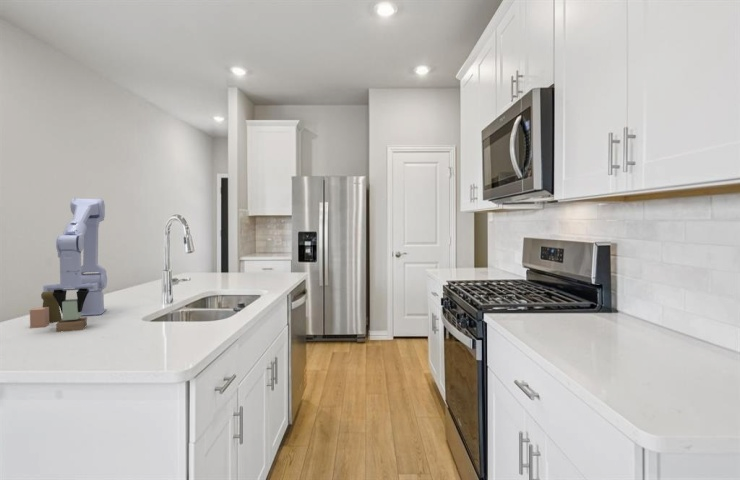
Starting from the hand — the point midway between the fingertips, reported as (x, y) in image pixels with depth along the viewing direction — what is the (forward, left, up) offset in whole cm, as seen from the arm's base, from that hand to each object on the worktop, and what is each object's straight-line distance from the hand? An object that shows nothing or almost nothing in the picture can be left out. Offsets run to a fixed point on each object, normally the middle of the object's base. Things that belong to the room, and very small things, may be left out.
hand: (71, 312), depth 135 cm
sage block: (0, 0, -2) cm, 2 cm away
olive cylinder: (-14, -10, -6) cm, 18 cm away
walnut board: (0, 0, -6) cm, 6 cm away
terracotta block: (-7, -11, -6) cm, 14 cm away
